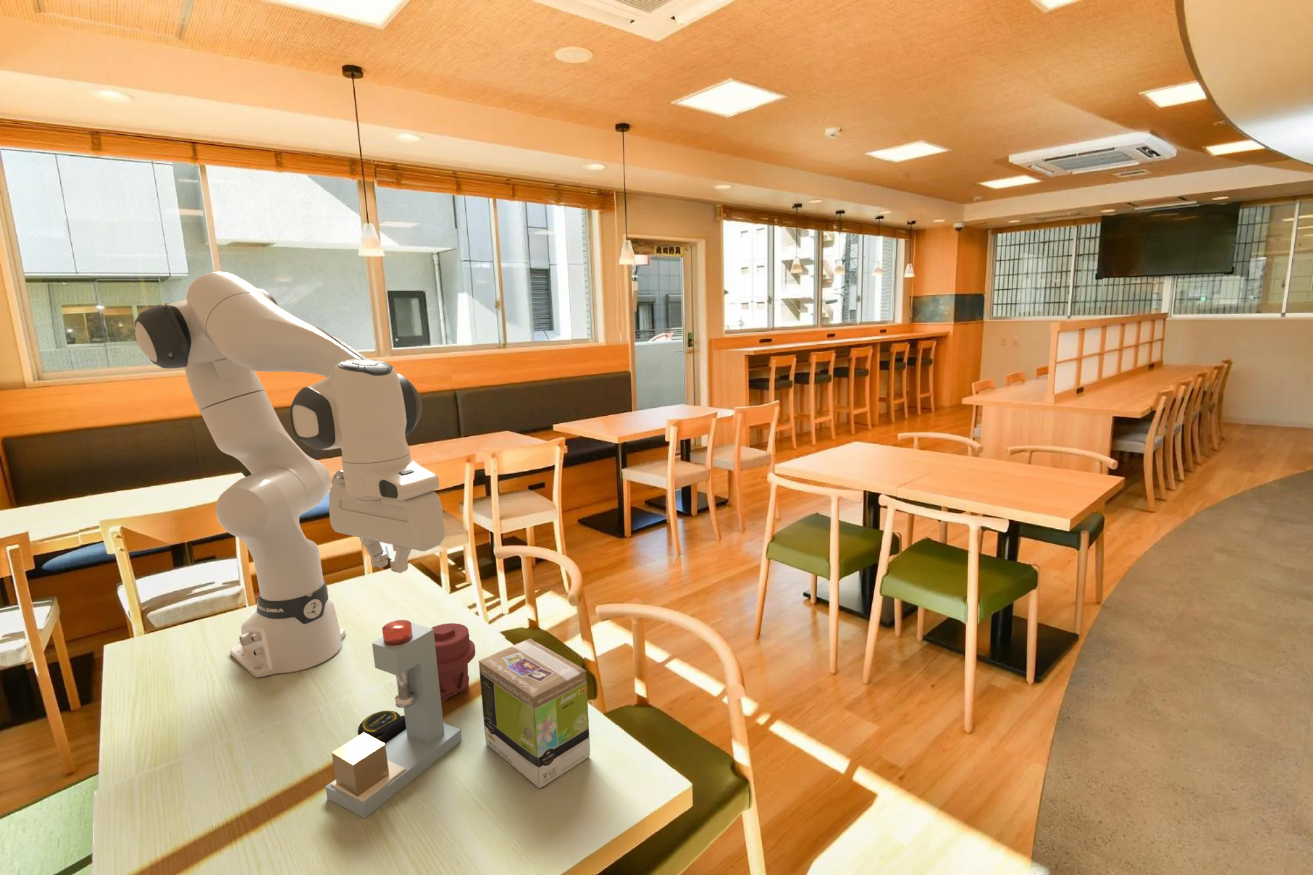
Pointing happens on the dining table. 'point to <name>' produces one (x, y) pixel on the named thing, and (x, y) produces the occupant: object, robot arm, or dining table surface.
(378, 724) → the tape measure
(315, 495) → the robot arm
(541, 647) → the tea box
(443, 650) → the mechanical component
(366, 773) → the block
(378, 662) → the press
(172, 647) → the dining table surface
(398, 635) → the button
